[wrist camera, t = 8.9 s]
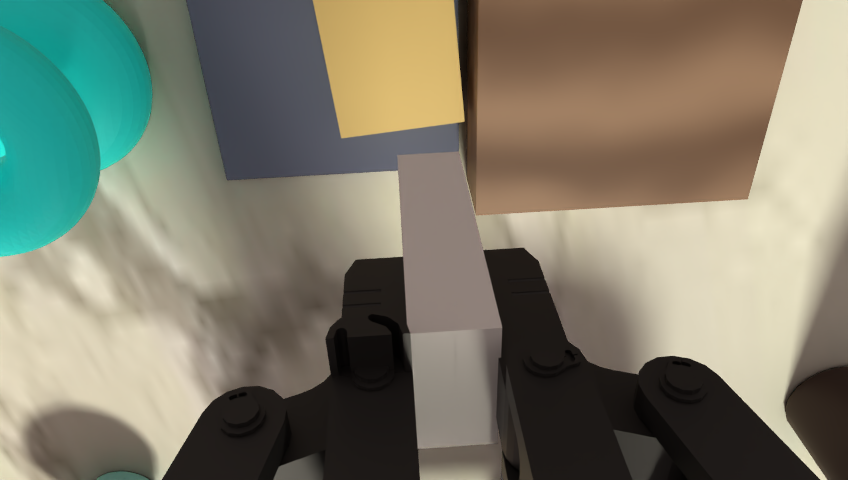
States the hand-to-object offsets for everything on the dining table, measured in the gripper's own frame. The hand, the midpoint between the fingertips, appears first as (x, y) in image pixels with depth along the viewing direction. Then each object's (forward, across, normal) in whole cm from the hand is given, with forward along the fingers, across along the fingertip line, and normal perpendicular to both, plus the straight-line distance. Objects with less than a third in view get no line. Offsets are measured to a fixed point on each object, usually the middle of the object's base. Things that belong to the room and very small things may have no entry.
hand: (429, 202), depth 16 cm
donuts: (+18, +17, +1) cm, 25 cm away
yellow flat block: (+17, +1, 0) cm, 17 cm away
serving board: (+18, -10, 0) cm, 20 cm away
